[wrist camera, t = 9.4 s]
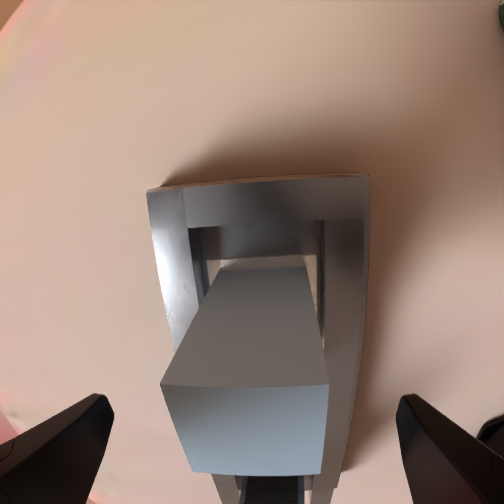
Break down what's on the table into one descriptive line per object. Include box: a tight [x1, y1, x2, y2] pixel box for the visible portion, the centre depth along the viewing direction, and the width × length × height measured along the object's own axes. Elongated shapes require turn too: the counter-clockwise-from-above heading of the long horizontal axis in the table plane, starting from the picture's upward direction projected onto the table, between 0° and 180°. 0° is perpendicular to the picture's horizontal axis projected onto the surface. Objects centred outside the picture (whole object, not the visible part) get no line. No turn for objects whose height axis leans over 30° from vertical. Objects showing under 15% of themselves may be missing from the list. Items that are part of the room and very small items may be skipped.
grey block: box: [160, 266, 329, 476], centre depth 11 cm, size 4×5×8 cm
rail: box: [146, 173, 369, 504], centre depth 14 cm, size 10×24×10 cm, turn 5°
